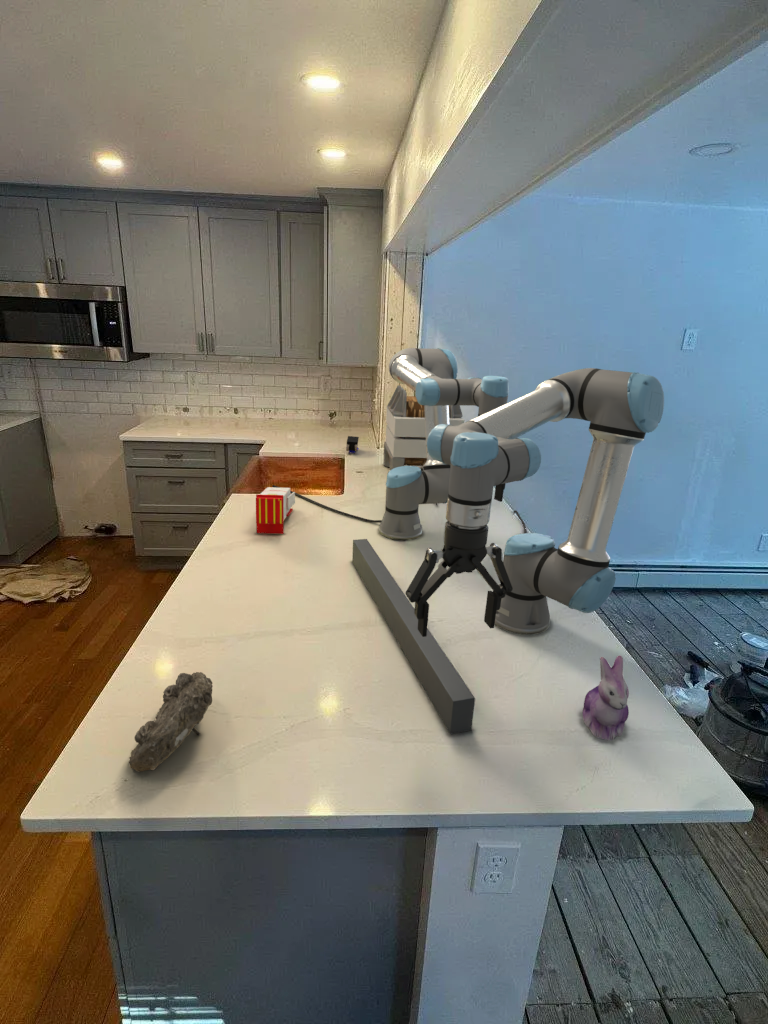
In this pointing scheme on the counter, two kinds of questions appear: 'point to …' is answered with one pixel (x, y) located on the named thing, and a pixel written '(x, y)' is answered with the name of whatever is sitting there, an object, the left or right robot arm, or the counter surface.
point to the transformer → (409, 430)
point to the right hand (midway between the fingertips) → (456, 628)
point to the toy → (273, 509)
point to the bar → (416, 642)
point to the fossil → (172, 721)
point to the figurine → (607, 702)
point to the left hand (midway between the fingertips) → (481, 503)
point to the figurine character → (352, 444)
